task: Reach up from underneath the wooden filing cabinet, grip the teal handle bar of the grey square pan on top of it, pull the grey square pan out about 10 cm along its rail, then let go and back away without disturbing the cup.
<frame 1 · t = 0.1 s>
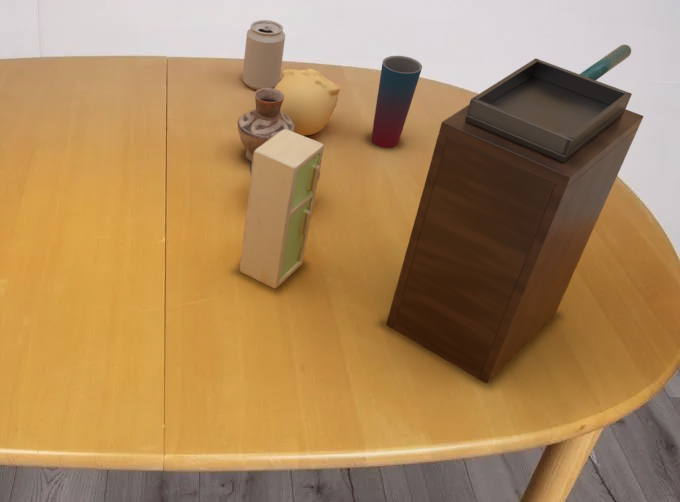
wooden filing cabinet: (471, 319, 125), on the table
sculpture: (298, 127, 164), on the table
pottery: (270, 180, 150), on the table
can: (260, 84, 176), on the table
cup: (384, 141, 162), on the table
grey square pan: (563, 96, 105), point 33 cm above the table, slide at 0.0 cm
toy refrigerator: (272, 270, 132), on the table
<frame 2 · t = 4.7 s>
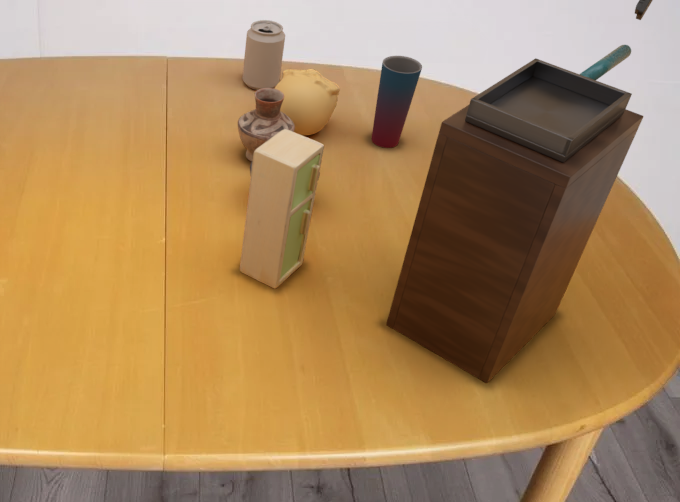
hand: (668, 28, 123), 33 cm above the table, tool tilted 45°, fingers open, 8 cm apart
nothing on the table moved.
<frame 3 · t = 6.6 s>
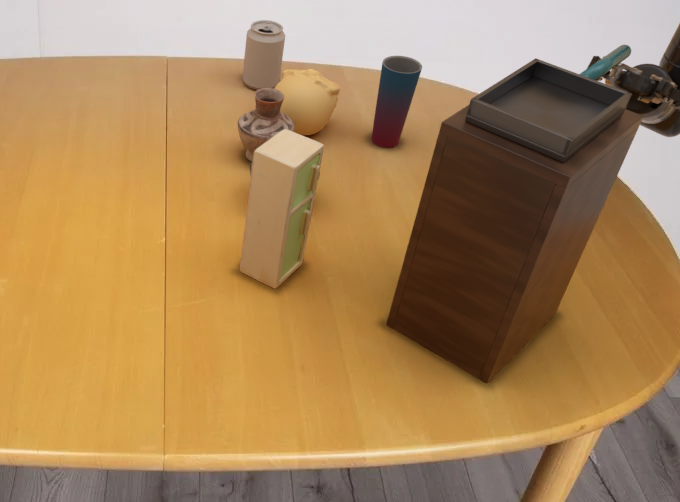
hand: (631, 74, 122), 28 cm above the table, tool pointing upward, fingers open, 8 cm apart
nothing on the table moved.
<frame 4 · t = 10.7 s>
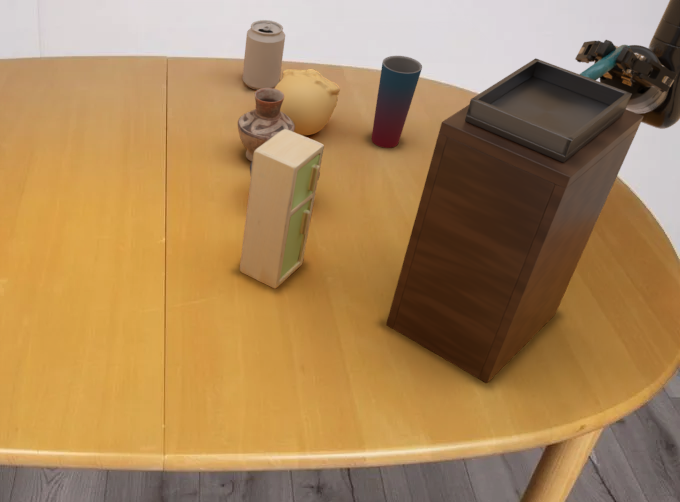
hand: (613, 51, 110), 35 cm above the table, tool pointing upward, fingers closed on grey square pan, 2 cm apart
grey square pan: (563, 96, 105), point 33 cm above the table, slide at 0.0 cm, touching gripper
everything else where it was.
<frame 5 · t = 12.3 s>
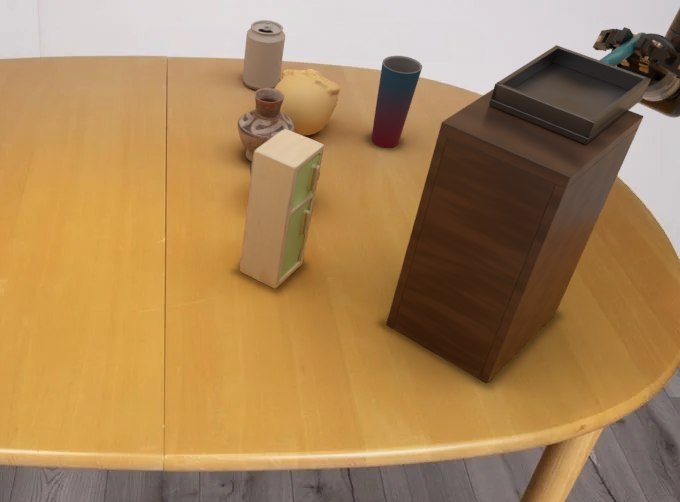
hand: (631, 38, 114), 35 cm above the table, tool pointing upward, fingers closed on grey square pan, 2 cm apart
grey square pan: (584, 81, 108), point 33 cm above the table, slide at 5.7 cm, touching gripper
everything else where it was.
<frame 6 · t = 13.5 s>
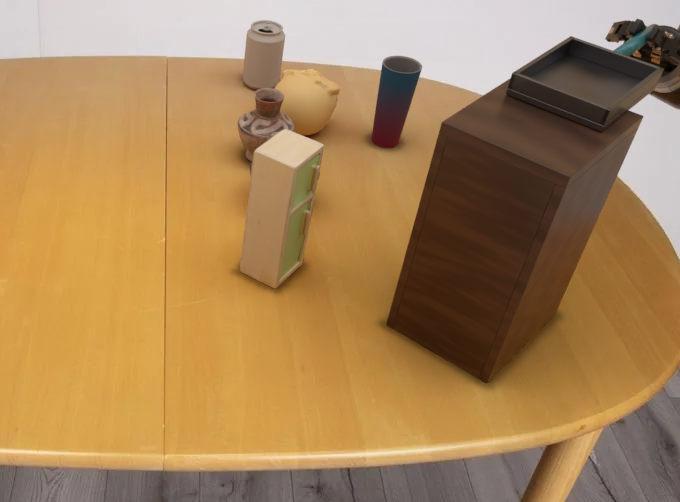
hand: (644, 29, 116), 35 cm above the table, tool pointing upward, fingers closed on grey square pan, 2 cm apart
grey square pan: (598, 71, 110), point 33 cm above the table, slide at 9.9 cm, touching gripper
everything else where it was.
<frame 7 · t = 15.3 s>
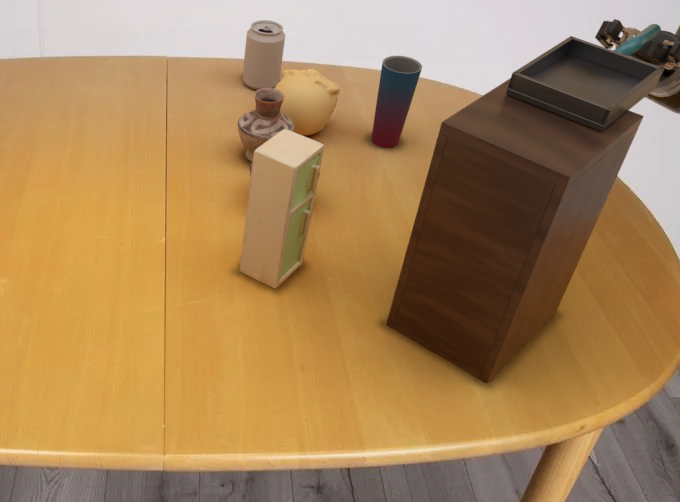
hand: (643, 37, 117), 34 cm above the table, tool pointing upward, fingers open, 8 cm apart
grey square pan: (598, 71, 110), point 34 cm above the table, slide at 10.0 cm
everything else where it was.
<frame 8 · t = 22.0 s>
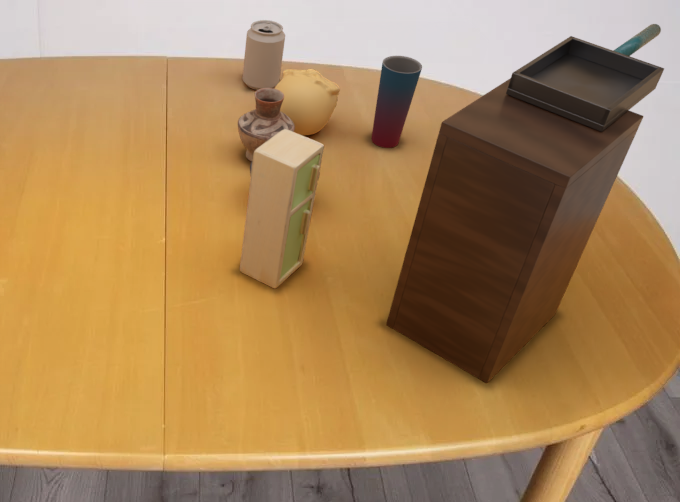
nothing on the table moved.
at the end: grey square pan slide at 10.0 cm; the gripper is holding nothing; cup moved 0.2 cm from its start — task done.
